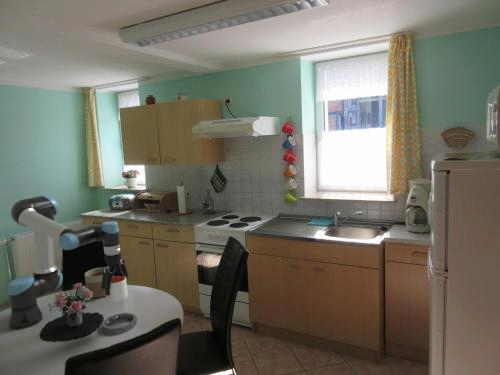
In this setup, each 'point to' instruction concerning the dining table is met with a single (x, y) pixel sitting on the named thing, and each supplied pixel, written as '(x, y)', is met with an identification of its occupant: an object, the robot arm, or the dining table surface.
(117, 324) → the ring coaster
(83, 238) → the robot arm
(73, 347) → the dining table surface
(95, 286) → the planter
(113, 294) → the cup
